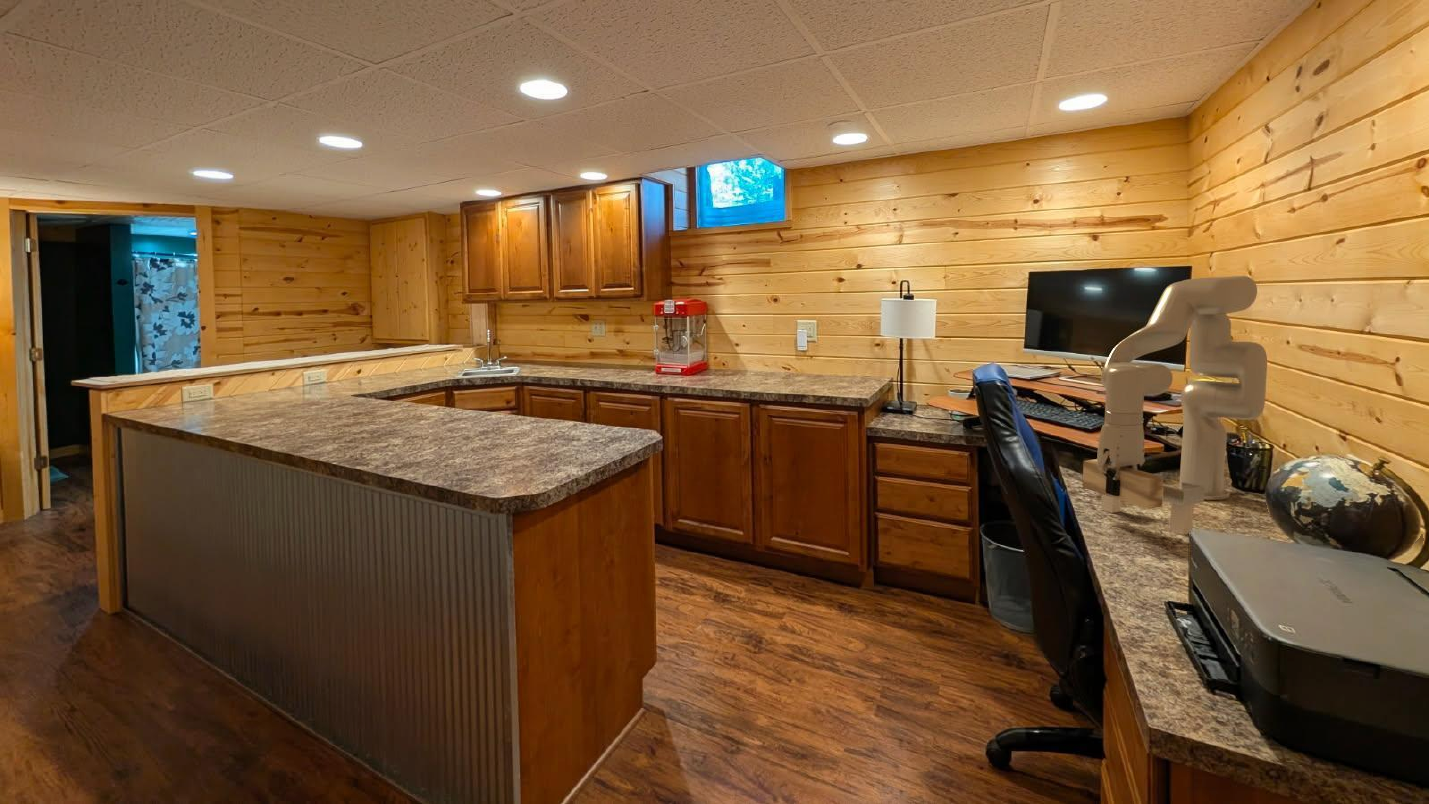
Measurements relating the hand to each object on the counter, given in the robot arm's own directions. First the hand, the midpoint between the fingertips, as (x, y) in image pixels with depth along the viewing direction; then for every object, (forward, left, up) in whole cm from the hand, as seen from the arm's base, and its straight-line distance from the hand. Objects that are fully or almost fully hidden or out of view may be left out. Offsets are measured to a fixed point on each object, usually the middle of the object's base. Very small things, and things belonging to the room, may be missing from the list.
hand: (1120, 492), depth 148 cm
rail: (0, 0, -1) cm, 1 cm away
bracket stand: (-8, 0, -8) cm, 12 cm away
